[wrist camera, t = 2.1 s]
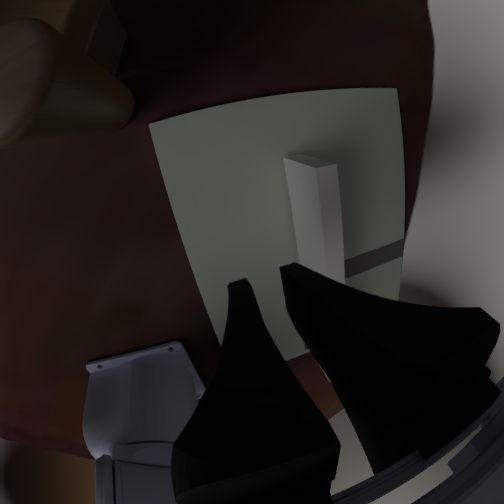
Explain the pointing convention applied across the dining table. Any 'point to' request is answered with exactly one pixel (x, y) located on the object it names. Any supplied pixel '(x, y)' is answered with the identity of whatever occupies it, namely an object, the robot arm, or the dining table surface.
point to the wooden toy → (60, 70)
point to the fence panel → (316, 214)
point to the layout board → (284, 193)
